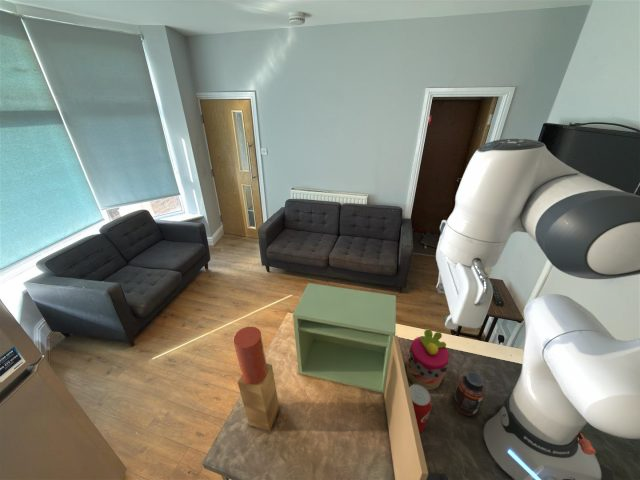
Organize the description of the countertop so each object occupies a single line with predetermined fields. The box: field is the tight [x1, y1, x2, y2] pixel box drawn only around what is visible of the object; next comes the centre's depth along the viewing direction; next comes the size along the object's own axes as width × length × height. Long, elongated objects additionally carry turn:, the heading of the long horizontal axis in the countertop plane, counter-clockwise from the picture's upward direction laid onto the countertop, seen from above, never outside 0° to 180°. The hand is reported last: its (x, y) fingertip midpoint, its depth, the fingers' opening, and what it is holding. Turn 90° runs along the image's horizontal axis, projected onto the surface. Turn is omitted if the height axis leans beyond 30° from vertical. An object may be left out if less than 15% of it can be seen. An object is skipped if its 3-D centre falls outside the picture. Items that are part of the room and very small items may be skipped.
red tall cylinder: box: [232, 326, 268, 384], centre depth 59 cm, size 6×6×12 cm
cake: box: [406, 328, 450, 391], centre depth 76 cm, size 10×11×15 cm
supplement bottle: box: [452, 371, 486, 416], centre depth 69 cm, size 6×6×11 cm
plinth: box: [237, 362, 280, 432], centre depth 66 cm, size 6×6×18 cm
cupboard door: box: [383, 334, 450, 480], centre depth 56 cm, size 6×26×24 cm, turn 175°
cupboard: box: [292, 282, 397, 394], centre depth 78 cm, size 14×26×24 cm, turn 75°
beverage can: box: [409, 384, 433, 434], centre depth 65 cm, size 6×6×12 cm
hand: (444, 307), depth 49 cm, fingers open, 8 cm apart
